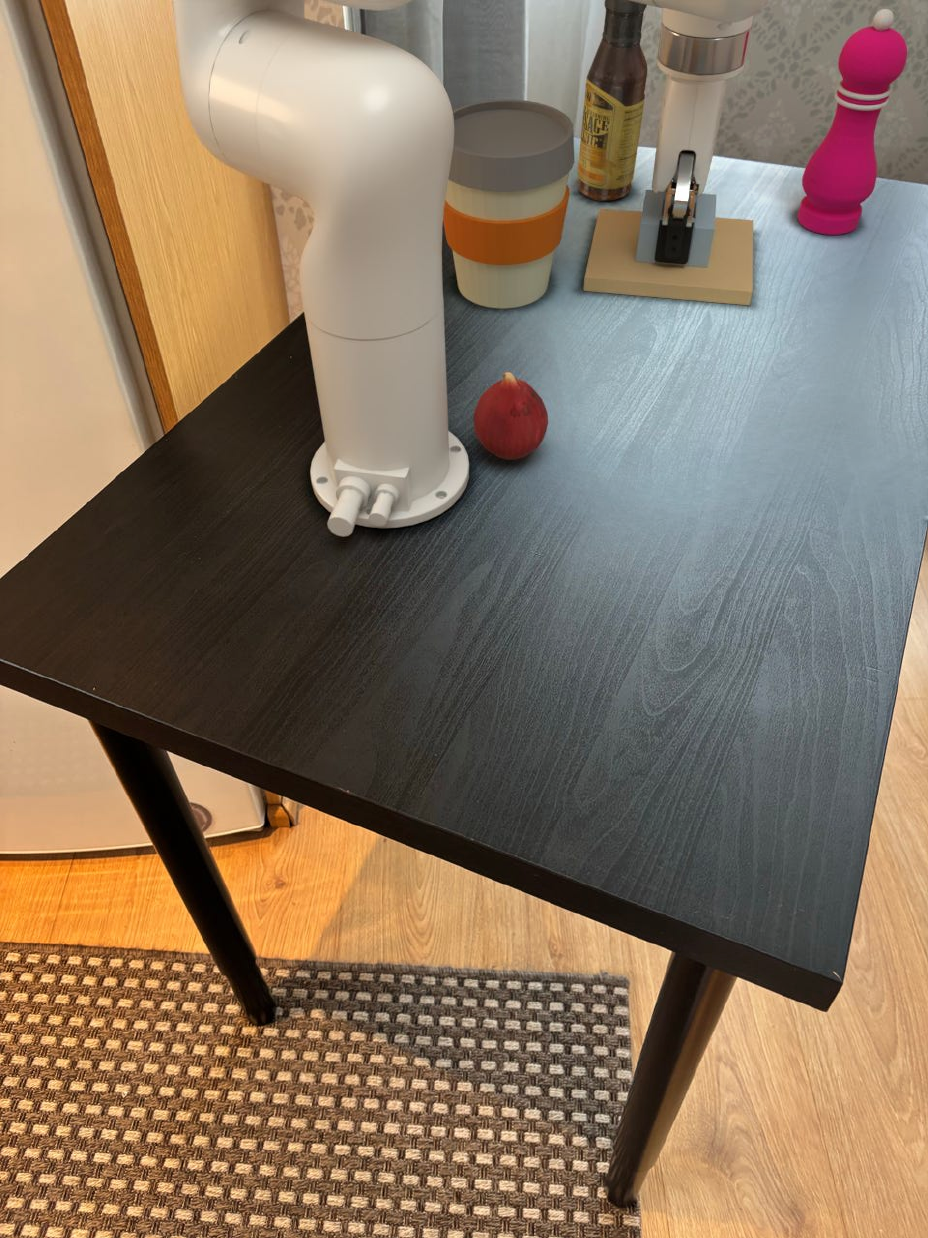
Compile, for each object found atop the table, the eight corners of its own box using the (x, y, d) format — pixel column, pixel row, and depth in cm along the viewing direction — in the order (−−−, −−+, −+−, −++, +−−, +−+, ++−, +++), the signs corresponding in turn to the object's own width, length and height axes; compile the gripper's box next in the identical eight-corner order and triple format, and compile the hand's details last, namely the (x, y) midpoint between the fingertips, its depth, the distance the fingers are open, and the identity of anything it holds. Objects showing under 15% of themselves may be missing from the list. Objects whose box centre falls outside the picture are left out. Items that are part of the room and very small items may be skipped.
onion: (552, 440, 80) (557, 357, 74) (536, 485, 76) (540, 402, 70) (484, 429, 81) (484, 347, 75) (465, 473, 78) (464, 390, 72)
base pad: (749, 305, 93) (758, 266, 90) (583, 290, 95) (586, 252, 92) (750, 233, 102) (758, 196, 99) (598, 221, 104) (601, 184, 101)
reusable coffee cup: (589, 298, 94) (603, 140, 83) (473, 331, 91) (471, 171, 79) (529, 240, 101) (534, 88, 90) (419, 269, 98) (410, 114, 87)
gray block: (707, 267, 94) (714, 228, 91) (635, 261, 95) (640, 222, 92) (709, 232, 99) (716, 194, 96) (640, 227, 100) (645, 188, 97)
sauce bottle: (567, 183, 110) (580, -18, 95) (616, 173, 111) (637, -27, 96) (592, 209, 106) (610, 3, 91) (643, 199, 107) (669, -6, 92)
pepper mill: (856, 205, 105) (919, -4, 90) (867, 239, 100) (935, 23, 85) (788, 203, 106) (839, -5, 90) (796, 236, 101) (851, 22, 86)
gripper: (665, 9, 89) (642, 197, 103) (651, 84, 78) (628, 283, 92) (748, 12, 88) (713, 202, 102) (746, 89, 77) (708, 290, 91)
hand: (673, 239), depth 97 cm, fingers open, 7 cm apart
